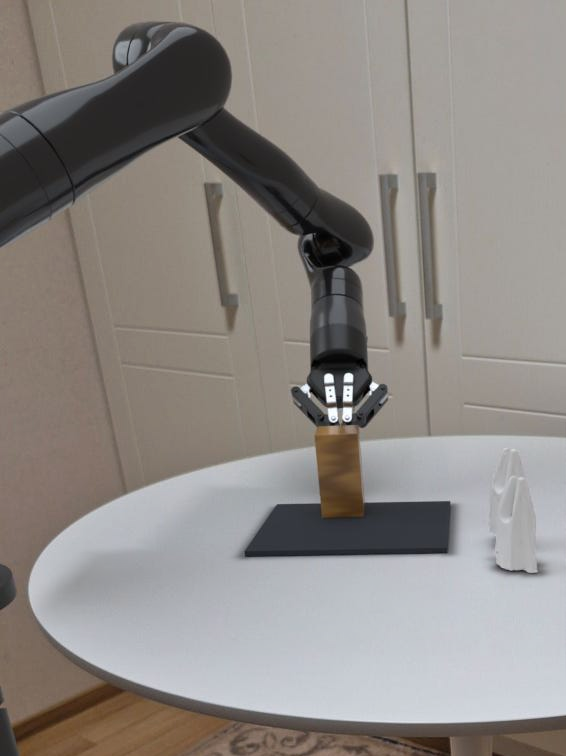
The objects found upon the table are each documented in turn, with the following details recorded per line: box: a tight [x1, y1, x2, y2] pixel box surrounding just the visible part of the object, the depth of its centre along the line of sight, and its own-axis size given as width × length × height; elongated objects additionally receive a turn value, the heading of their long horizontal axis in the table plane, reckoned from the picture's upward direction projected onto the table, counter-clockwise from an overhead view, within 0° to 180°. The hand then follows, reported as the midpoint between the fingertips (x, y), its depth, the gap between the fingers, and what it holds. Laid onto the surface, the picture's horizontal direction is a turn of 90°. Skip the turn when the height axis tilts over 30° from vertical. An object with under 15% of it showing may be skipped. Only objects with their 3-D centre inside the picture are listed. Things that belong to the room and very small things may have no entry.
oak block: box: [314, 425, 366, 518], centre depth 107 cm, size 5×5×10 cm
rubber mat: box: [243, 500, 451, 557], centre depth 104 cm, size 22×18×1 cm
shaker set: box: [487, 447, 539, 574], centre depth 93 cm, size 12×4×11 cm, turn 5°
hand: (342, 453), depth 112 cm, fingers closed
